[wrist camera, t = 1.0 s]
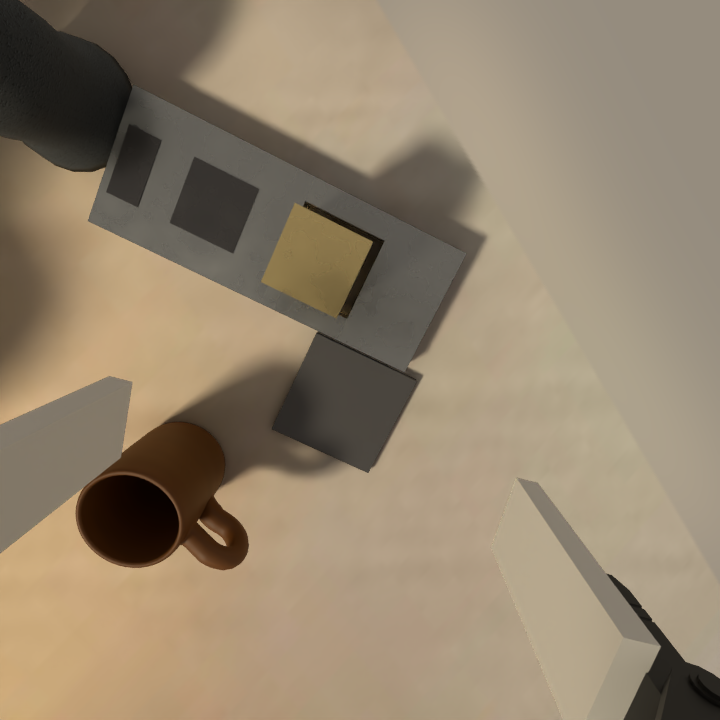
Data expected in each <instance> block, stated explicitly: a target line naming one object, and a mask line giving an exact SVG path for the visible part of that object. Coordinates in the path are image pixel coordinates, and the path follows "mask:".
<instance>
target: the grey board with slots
mask: <svg viewBox="0 0 720 720" xmlns="http://www.w3.org/2000/svg"><path fill="white" fill-rule="evenodd" d="M294 203H296V204H298V205H300V206H302V207H304V208H306V209H307V207H308V205H309V204H310V205H312V206H313V207H315V208H317V209H319V210H321V211H323V212H325V213H327V214H329V215H331V216H333V217H335V218H337V219H339V220H341V221H343V222H345V223H347V224H349V225H351V226H353V227H355V228H357V229H359V230H361V231H363V232H365V233H367V234H369V235H371V236H373V237H375V238H377V239H379V240H381V241H383V242H384V243H383V245H382V247H381V249H380V251H379V253H378V255H377V257H376V259H375V261H374V263H373V266H372V268H371V270H370V272H369V274H368V276H367V278H366V280H365V282H364V284H363V286H362V288H361V291H360V293H359V295H358V297H357V299H356V301H355V303H354V305H353V307H352V309H351V311H350V313H349V316H347V315H345V314H343V313H341V312H340V313H339V315H338V317H337V318H334V317H332V316H330V315H328V314H326V313H324V312H322V311H320V310H318V309H316V308H314V307H312V306H310V305H307V304H305V303H303V302H301V301H299V300H297V299H295V298H293V297H291V296H289V295H287V294H285V293H283V292H281V291H278V290H276V289H274V288H272V287H270V286H268V285H266V284H264V283H262V282H261V280H262V278H263V276H264V273H265V271H266V269H267V266H268V264H269V262H270V259H271V257H272V255H273V252H274V250H275V248H276V245H277V243H278V241H279V238H280V236H281V234H282V231H283V229H284V227H285V224H286V222H287V220H288V217H289V215H290V213H291V210H292V208H293V206H294ZM88 221H89V222H91V223H93V224H95V225H97V226H99V227H102V228H104V229H106V230H108V231H110V232H112V233H114V234H116V235H118V236H120V237H122V238H125V239H127V240H129V241H131V242H133V243H135V244H137V245H139V246H141V247H143V248H145V249H148V250H150V251H152V252H154V253H156V254H158V255H160V256H162V257H164V258H166V259H168V260H171V261H173V262H175V263H177V264H179V265H181V266H183V267H185V268H187V269H189V270H191V271H194V272H196V273H198V274H200V275H202V276H204V277H206V278H208V279H210V280H212V281H214V282H217V283H219V284H221V285H223V286H225V287H227V288H229V289H231V290H233V291H235V292H237V293H240V294H242V295H244V296H246V297H248V298H250V299H252V300H254V301H256V302H258V303H260V304H263V305H265V306H267V307H269V308H271V309H273V310H275V311H277V312H279V313H281V314H284V315H286V316H288V317H290V318H292V319H294V320H296V321H298V322H300V323H302V324H304V325H307V326H309V327H311V328H313V329H315V330H317V331H319V332H321V333H323V334H325V335H327V336H330V337H332V338H334V339H336V340H338V341H340V342H342V343H344V344H346V345H348V346H350V347H353V348H355V349H357V350H359V351H361V352H363V353H365V354H367V355H369V356H371V357H373V358H376V359H378V360H380V361H382V362H384V363H386V364H388V365H390V366H392V367H394V368H396V369H399V370H401V371H403V372H405V371H406V369H407V367H408V365H409V363H410V361H411V359H412V357H413V355H414V353H415V351H416V349H417V348H418V346H419V344H420V342H421V340H422V338H423V336H424V334H425V332H426V330H427V328H428V327H429V325H430V323H431V321H432V319H433V317H434V315H435V313H436V311H437V309H438V307H439V305H440V304H441V302H442V300H443V298H444V296H445V294H446V292H447V290H448V288H449V286H450V284H451V282H452V281H453V279H454V277H455V275H456V273H457V271H458V269H459V267H460V265H461V263H462V261H463V259H464V258H465V256H466V254H467V253H465V252H463V251H461V250H459V249H457V248H455V247H453V246H451V245H449V244H447V243H445V242H443V241H441V240H439V239H437V238H435V237H433V236H431V235H429V234H427V233H425V232H423V231H421V230H419V229H417V228H415V227H414V226H412V225H410V224H408V223H406V222H404V221H402V220H400V219H398V218H396V217H394V216H392V215H390V214H388V213H386V212H384V211H382V210H380V209H378V208H376V207H374V206H372V205H370V204H368V203H366V202H364V201H362V200H360V199H358V198H356V197H354V196H352V195H350V194H348V193H346V192H345V191H343V190H341V189H339V188H337V187H335V186H333V185H331V184H329V183H327V182H325V181H323V180H321V179H319V178H317V177H315V176H313V175H311V174H309V173H307V172H305V171H303V170H301V169H299V168H297V167H295V166H293V165H291V164H289V163H287V162H285V161H283V160H281V159H279V158H277V157H276V156H274V155H272V154H270V153H268V152H266V151H264V150H262V149H260V148H258V147H256V146H254V145H252V144H250V143H248V142H246V141H244V140H242V139H240V138H238V137H236V136H234V135H232V134H230V133H228V132H226V131H224V130H222V129H220V128H218V127H216V126H214V125H212V124H210V123H208V122H207V121H205V120H203V119H201V118H199V117H197V116H195V115H193V114H191V113H189V112H187V111H185V110H183V109H181V108H179V107H177V106H175V105H173V104H171V103H169V102H167V101H165V100H163V99H161V98H159V97H157V96H155V95H153V94H151V93H149V92H147V91H145V90H143V89H141V88H139V87H138V86H136V85H133V88H132V91H131V94H130V97H129V100H128V103H127V106H126V109H125V112H124V115H123V118H122V121H121V124H120V126H119V129H118V132H117V135H116V138H115V141H114V144H113V147H112V150H111V153H110V156H109V159H108V162H107V165H106V168H105V171H104V174H103V177H102V180H101V183H100V186H99V189H98V192H97V195H96V198H95V201H94V204H93V207H92V210H91V213H90V216H89V219H88Z"/></svg>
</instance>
